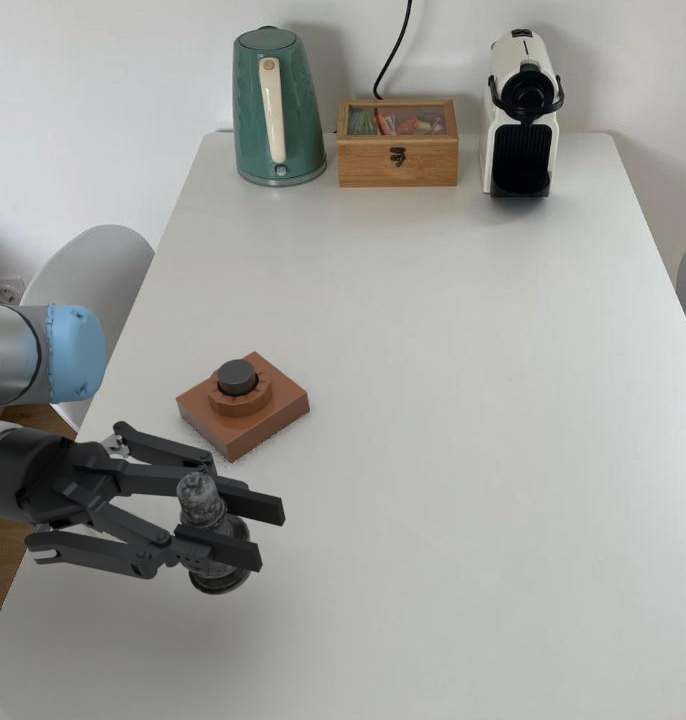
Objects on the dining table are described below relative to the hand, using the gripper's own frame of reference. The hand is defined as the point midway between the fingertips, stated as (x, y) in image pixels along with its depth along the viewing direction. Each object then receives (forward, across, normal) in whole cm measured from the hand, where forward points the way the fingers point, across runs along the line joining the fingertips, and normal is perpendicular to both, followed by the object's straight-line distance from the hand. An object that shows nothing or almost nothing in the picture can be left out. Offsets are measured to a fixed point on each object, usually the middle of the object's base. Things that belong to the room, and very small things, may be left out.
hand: (269, 534), depth 61 cm
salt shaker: (-5, 0, -7) cm, 9 cm away
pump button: (-16, -24, -11) cm, 32 cm away
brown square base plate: (-17, -24, -16) cm, 33 cm away
